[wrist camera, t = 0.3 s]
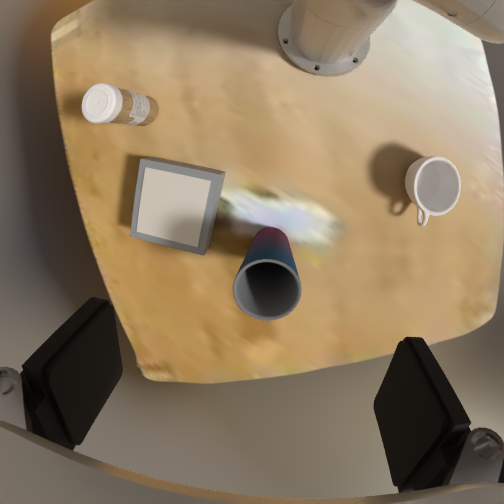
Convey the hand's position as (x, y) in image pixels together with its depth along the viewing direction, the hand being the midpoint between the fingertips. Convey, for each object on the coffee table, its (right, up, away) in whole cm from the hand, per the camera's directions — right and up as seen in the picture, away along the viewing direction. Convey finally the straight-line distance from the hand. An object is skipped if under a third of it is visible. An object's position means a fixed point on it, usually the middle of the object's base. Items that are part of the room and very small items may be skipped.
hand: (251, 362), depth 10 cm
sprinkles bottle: (-15, +24, +31) cm, 42 cm away
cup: (+3, +5, +36) cm, 37 cm away
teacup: (+24, +13, +31) cm, 42 cm away
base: (-10, +11, +35) cm, 38 cm away
